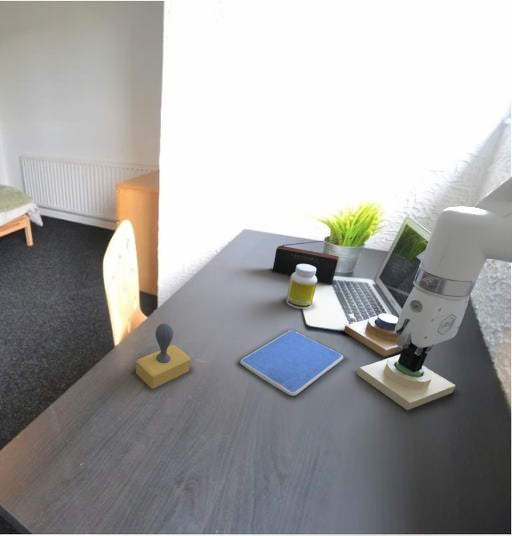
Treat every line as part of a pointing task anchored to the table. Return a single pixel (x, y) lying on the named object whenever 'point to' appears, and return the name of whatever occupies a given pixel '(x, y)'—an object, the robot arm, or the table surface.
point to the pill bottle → (302, 287)
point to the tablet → (291, 362)
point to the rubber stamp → (163, 360)
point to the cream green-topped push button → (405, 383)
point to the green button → (408, 371)
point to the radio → (305, 262)
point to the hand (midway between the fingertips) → (408, 366)
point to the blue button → (386, 321)
